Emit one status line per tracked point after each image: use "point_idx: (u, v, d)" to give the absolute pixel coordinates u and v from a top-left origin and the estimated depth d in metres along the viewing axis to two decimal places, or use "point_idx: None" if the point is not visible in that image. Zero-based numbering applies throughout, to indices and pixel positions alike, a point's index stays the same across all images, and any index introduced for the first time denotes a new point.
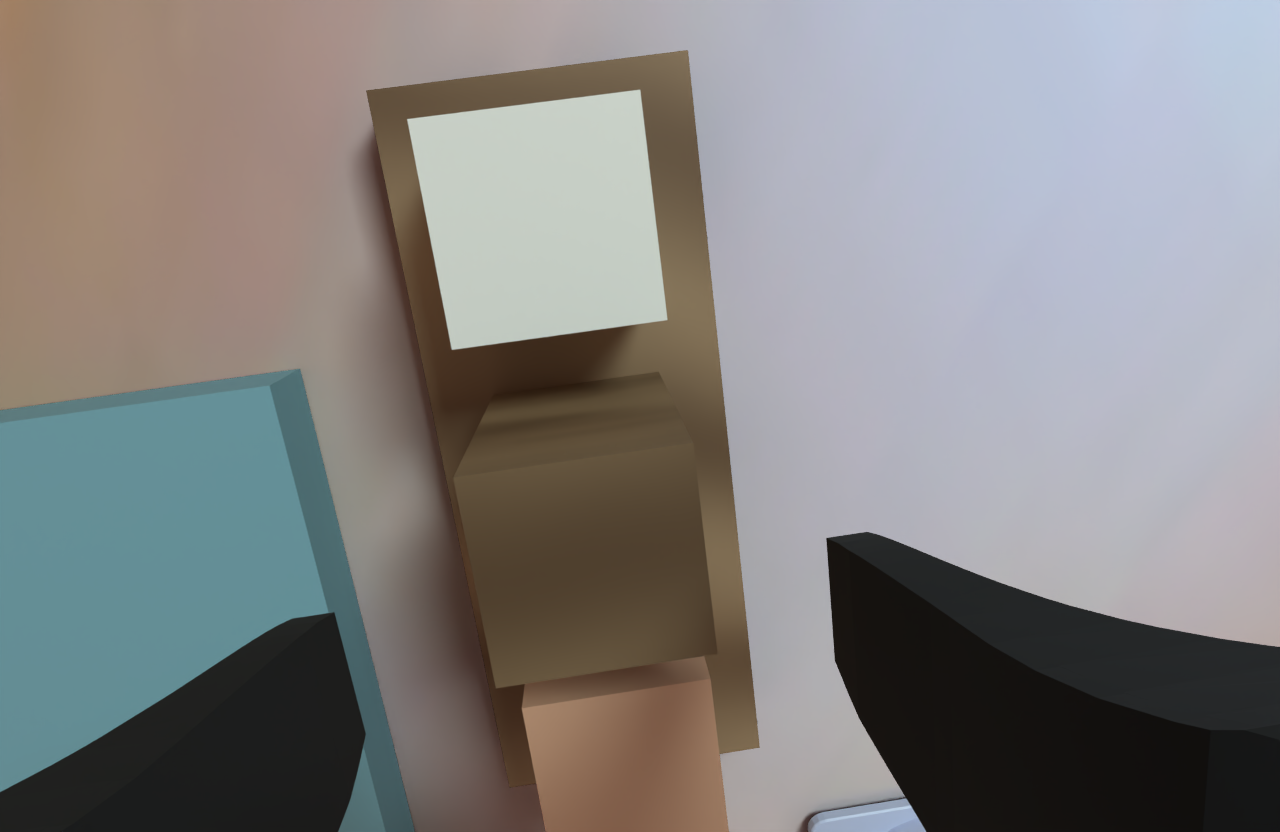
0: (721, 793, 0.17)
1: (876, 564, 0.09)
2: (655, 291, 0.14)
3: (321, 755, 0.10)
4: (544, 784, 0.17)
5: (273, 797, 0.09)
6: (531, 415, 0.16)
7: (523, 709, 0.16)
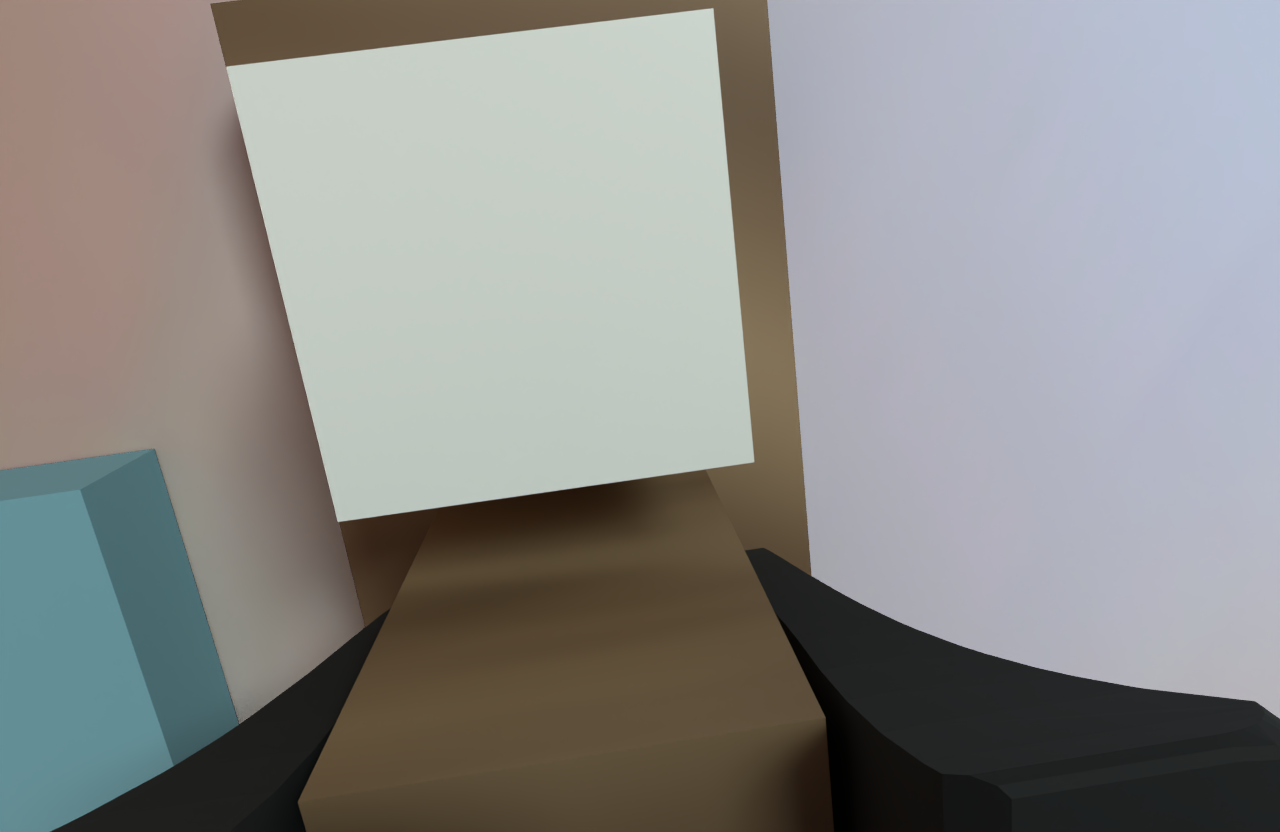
0: None
1: None
2: (732, 408, 0.07)
3: None
4: None
5: None
6: (493, 572, 0.09)
7: None
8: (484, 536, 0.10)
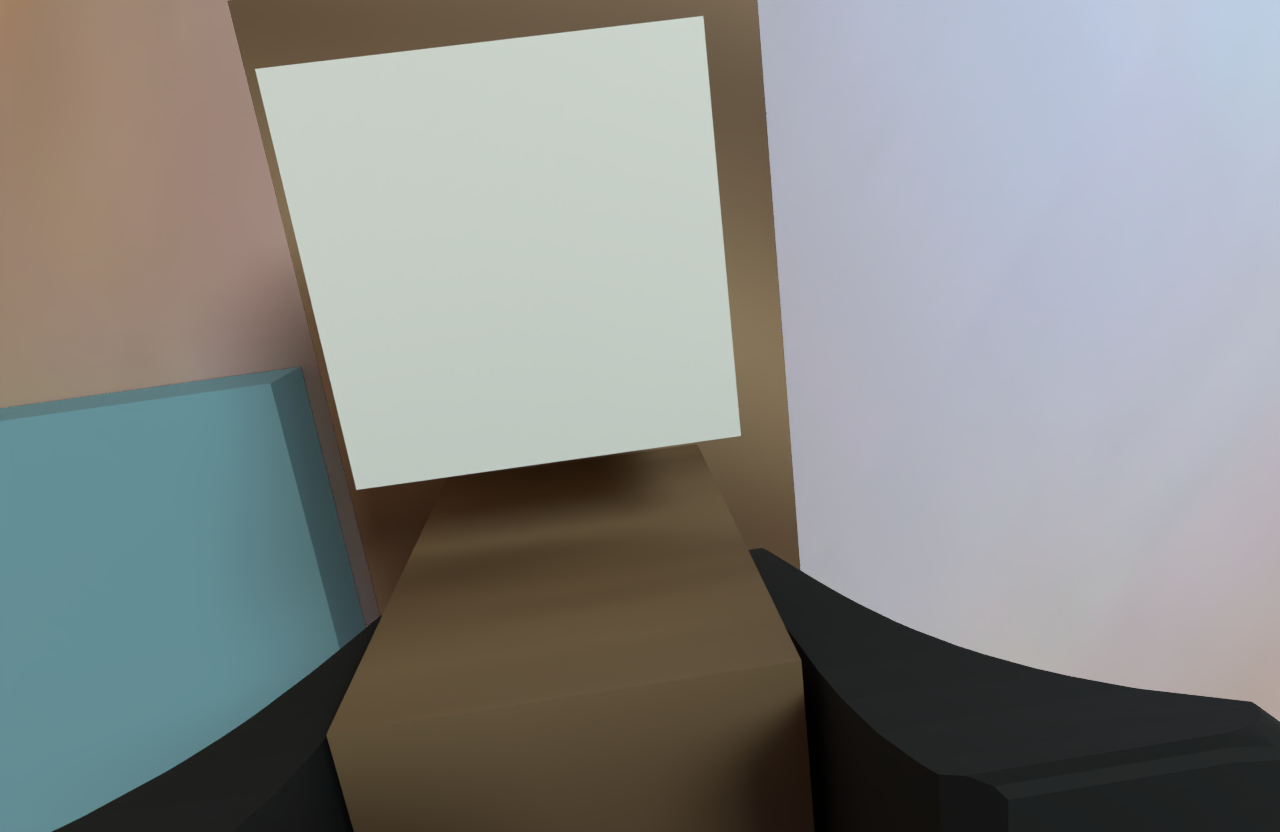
0: None
1: None
2: (720, 386, 0.08)
3: None
4: None
5: None
6: (498, 538, 0.10)
7: None
8: (489, 507, 0.11)
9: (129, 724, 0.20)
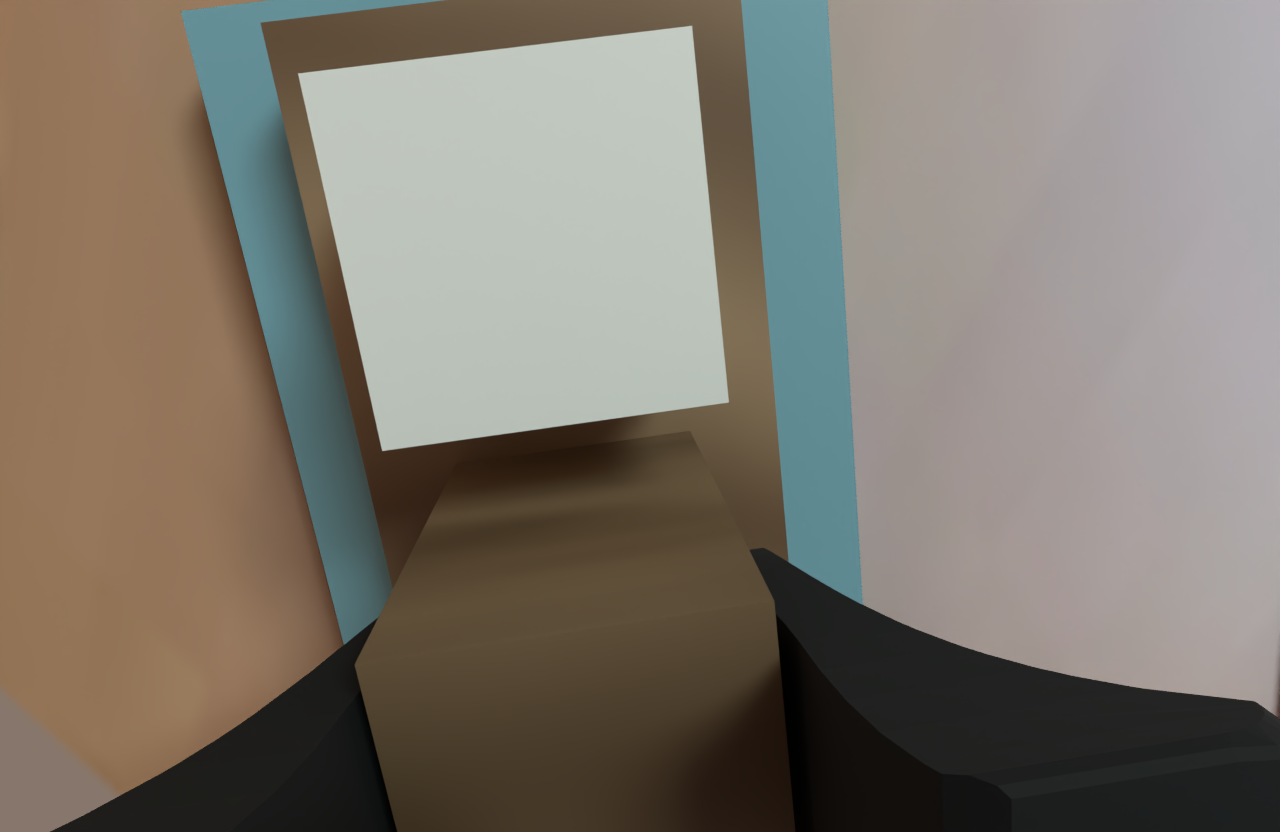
0: None
1: None
2: (710, 357, 0.09)
3: None
4: None
5: None
6: (504, 511, 0.11)
7: None
8: (496, 485, 0.12)
9: None
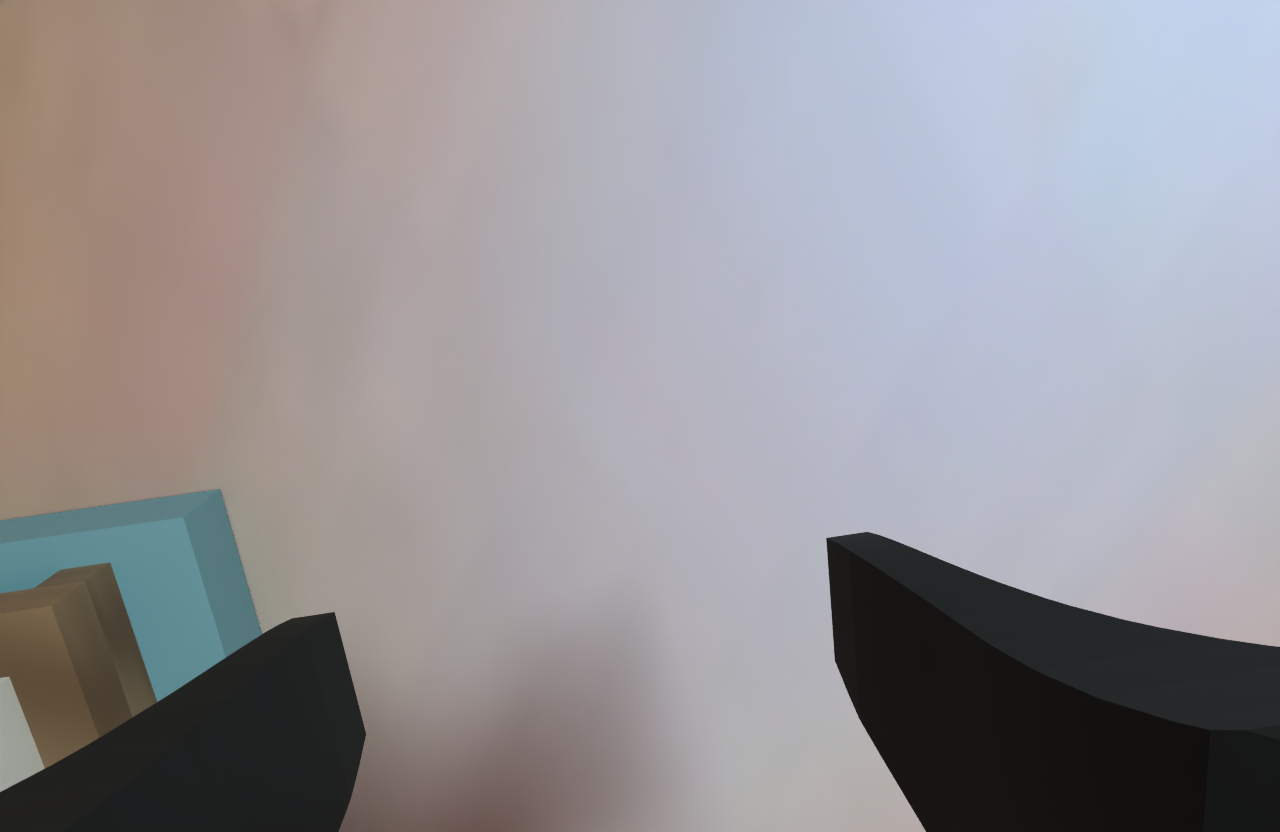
0: None
1: (876, 564, 0.09)
2: None
3: (321, 755, 0.10)
4: None
5: (273, 797, 0.09)
6: None
7: None
8: None
9: None
